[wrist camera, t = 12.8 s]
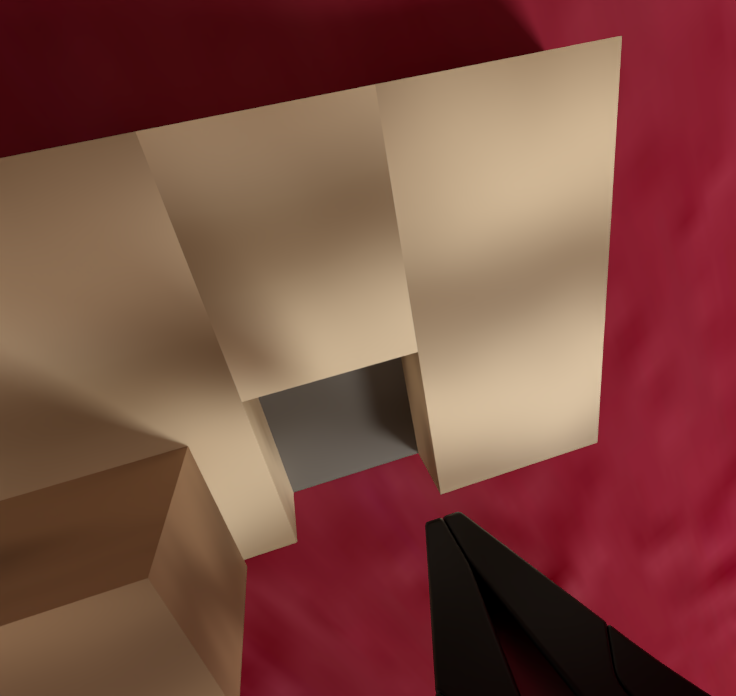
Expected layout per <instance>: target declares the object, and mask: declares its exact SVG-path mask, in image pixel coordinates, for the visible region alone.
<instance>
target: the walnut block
mask: <svg viewBox="0 0 736 696" xmlns="http://www.w3.org/2000/svg"><path fill="white" fill-rule="evenodd" d="M246 576H247V566H246V564H245V562H244V560H243V558H242V556H241V553H240V551H239V549H238V547H237V545H236V543H235V541H234V539H233V537H232V535H231V533H230V531H229V529H228V527H227V525H226V523H225V521H224V519H223V517H222V515H221V513H220V510H219V508H218V506H217V504H216V502H215V500H214V498H213V496H212V494H211V492H210V490H209V488H208V486H207V484H206V482H205V480H204V478H203V476H202V474H201V472H200V470H199V467H198V465H197V463H196V461H195V459H194V457H193V455H192V453H191V451H190V449H189V447H188V446H186V447H183V448H179V449H176V450H172V451H169V452H165V453H162V454H159V455H155V456H152V457H148V458H145V459H142V460H138V461H135V462H131V463H128V464H124V465H121V466H118V467H114V468H111V469H107V470H104V471H101V472H97V473H94V474H90V475H87V476H83V477H80V478H77V479H73V480H70V481H66V482H63V483H59V484H56V485H53V486H49V487H46V488H42V489H39V490H36V491H32V492H29V493H25V494H22V495H18V496H15V497H12V498H8V499H5V500H1V501H0V696H240V680H241V663H242V645H243V628H244V611H245V593H246Z"/></svg>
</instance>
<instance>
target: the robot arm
mask: <svg viewBox="0 0 736 696" xmlns="http://www.w3.org/2000/svg"><path fill="white" fill-rule="evenodd" d="M425 529H426V545H427V562H428V578H429V594H430V610H431V627H432V643H433V659H434V675H435V690H436V696H711V695H709V694H708V693H706V692H705V691H703V690H702V689H700V688H698V687H697V686H695V685H694V684H692V683H691V682H689V681H688V680H686V679H685V678H683V677H682V676H680V675H679V674H677V673H676V672H674V671H673V670H671V669H670V668H668V667H667V666H665V665H664V664H662V663H661V662H660V661H658V660H657V659H655V658H654V657H653V656H651V655H650V654H649V653H647V652H646V651H644V650H643V649H642V648H640V647H639V646H637V645H636V644H635V643H633V642H632V641H631V640H629V639H628V638H627V637H625V636H624V635H623V634H621V633H620V632H619V631H617V630H616V629H615V628H614V627H612V626H611V625H608V626H607V624H606V622H605V621H604V620H603V619H601V618H600V617H599V616H597V615H596V614H595V613H593V612H592V611H591V610H590V609H588V608H587V607H586V606H584V605H583V604H582V603H580V602H579V601H578V600H576V599H575V598H574V597H572V596H571V595H570V594H568V593H567V592H566V591H564V590H563V589H562V588H560V587H559V586H558V585H557V584H555V583H554V582H553V581H551V580H550V579H549V578H547V577H546V576H545V575H543V574H542V573H541V572H539V571H538V570H537V569H535V568H534V567H533V566H531V565H530V564H529V563H527V562H526V561H525V560H523V559H522V558H521V557H520V556H518V555H517V554H516V553H514V552H513V551H512V550H510V549H509V548H508V547H506V546H505V545H504V544H502V543H501V542H500V541H498V540H497V539H496V538H494V537H493V536H492V535H490V534H489V533H488V532H487V531H485V530H484V529H483V528H481V527H480V526H479V525H477V524H476V523H475V522H473V521H472V520H471V519H469V518H468V517H467V516H465V515H464V514H463V513H461V512H455V513H452V514H449V515H446V516H444V518H443V519H442V518H438V519H435V520H432V521H429V522H427V523H426V525H425Z"/></svg>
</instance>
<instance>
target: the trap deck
mask: <svg viewBox="0 0 736 696" xmlns="http://www.w3.org/2000/svg"><path fill="white" fill-rule="evenodd" d="M621 43H622V36H618V37H613V38H608V39H603V40H598V41H593V42H588V43H582V44H577V45H572V46H567V47H562V48H557V49H552V50H547V51H542V52H537V53H532V54H527V55H522V56H516V57H511V58H506V59H501V60H496V61H491V62H486V63H481V64H476V65H471V66H466V67H461V68H456V69H450V70H445V71H440V72H435V73H430V74H425V75H420V76H415V77H410V78H405V79H400V80H395V81H390V82H384V83H379V84H374V85H369V86H364V87H359V88H354V89H349V90H344V91H339V92H334V93H329V94H323V95H318V96H313V97H308V98H303V99H298V100H293V101H288V102H283V103H278V104H273V105H268V106H263V107H257V108H252V109H247V110H242V111H237V112H232V113H227V114H222V115H217V116H212V117H207V118H202V119H197V120H191V121H186V122H181V123H176V124H171V125H166V126H161V127H156V128H151V129H146V130H141V131H136V132H131V133H125V134H120V135H115V136H110V137H105V138H100V139H95V140H90V141H85V142H80V143H75V144H70V145H65V146H59V147H54V148H49V149H44V150H39V151H34V152H29V153H24V154H19V155H14V156H9V157H4V158H0V501H1V500H5V499H8V498H12V497H15V496H18V495H22V494H25V493H29V492H32V491H36V490H39V489H42V488H46V487H49V486H53V485H56V484H59V483H63V482H66V481H70V480H73V479H77V478H80V477H83V476H87V475H90V474H94V473H97V472H101V471H104V470H107V469H111V468H114V467H118V466H121V465H124V464H128V463H131V462H135V461H138V460H142V459H145V458H148V457H152V456H155V455H159V454H162V453H165V452H169V451H172V450H176V449H179V448H183V447H186V446H188V447H189V449H190V451H191V453H192V455H193V457H194V459H195V461H196V463H197V465H198V467H199V470H200V472H201V474H202V476H203V478H204V480H205V482H206V484H207V486H208V488H209V490H210V492H211V494H212V496H213V498H214V500H215V502H216V504H217V506H218V508H219V510H220V513H221V515H222V517H223V519H224V521H225V523H226V525H227V527H228V529H229V531H230V533H231V535H232V537H233V539H234V541H235V543H236V545H237V547H238V549H239V551H240V553H241V556H242V558H243V560H245V559H248V558H251V557H254V556H257V555H260V554H263V553H266V552H269V551H272V550H275V549H278V548H281V547H284V546H287V545H290V544H293V543H296V542H297V534H296V521H295V508H294V494H293V492H296V491H299V490H302V489H306V488H309V487H312V486H315V485H318V484H321V483H325V482H328V481H331V480H334V479H337V478H340V477H344V476H347V475H350V474H353V473H356V472H359V471H362V470H366V469H369V468H372V467H375V466H378V465H381V464H385V463H388V462H391V461H394V460H397V459H400V458H403V457H407V456H410V455H413V454H416V453H419V455H420V457H421V459H422V461H423V462H424V464H425V466H426V468H427V470H428V472H429V473H430V475H431V477H432V479H433V481H434V483H435V485H436V486H437V488H438V490H439V492H440V494H443V493H446V492H449V491H452V490H455V489H458V488H461V487H465V486H468V485H471V484H474V483H477V482H480V481H483V480H486V479H489V478H492V477H495V476H498V475H501V474H504V473H507V472H510V471H513V470H516V469H519V468H522V467H525V466H528V465H531V464H534V463H537V462H540V461H543V460H546V459H549V458H552V457H555V456H558V455H561V454H564V453H567V452H570V451H573V450H576V449H579V448H582V447H585V446H588V445H591V444H594V443H597V439H598V423H599V406H600V390H601V373H602V357H603V340H604V324H605V307H606V291H607V274H608V258H609V241H610V225H611V208H612V192H613V175H614V159H615V142H616V126H617V109H618V93H619V76H620V60H621Z"/></svg>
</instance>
